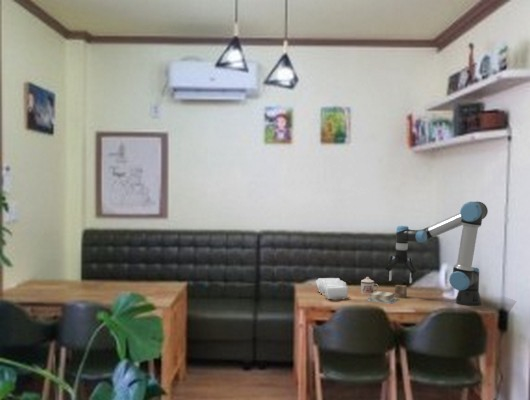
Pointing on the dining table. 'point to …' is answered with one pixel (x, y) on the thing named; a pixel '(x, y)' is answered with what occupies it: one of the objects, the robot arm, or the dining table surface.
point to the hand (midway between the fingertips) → (400, 281)
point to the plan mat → (384, 302)
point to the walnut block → (400, 291)
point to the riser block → (382, 296)
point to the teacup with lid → (368, 286)
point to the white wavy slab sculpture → (332, 288)
